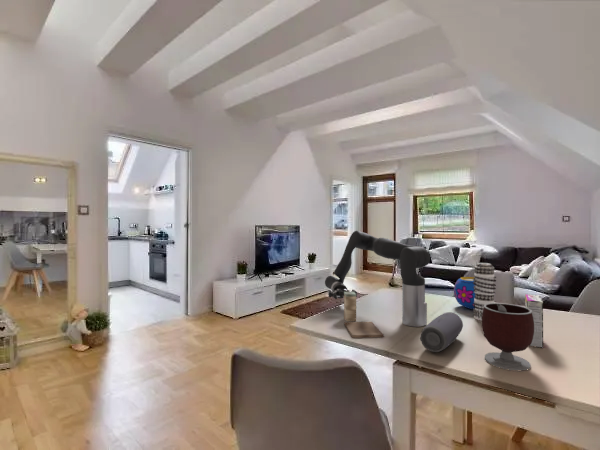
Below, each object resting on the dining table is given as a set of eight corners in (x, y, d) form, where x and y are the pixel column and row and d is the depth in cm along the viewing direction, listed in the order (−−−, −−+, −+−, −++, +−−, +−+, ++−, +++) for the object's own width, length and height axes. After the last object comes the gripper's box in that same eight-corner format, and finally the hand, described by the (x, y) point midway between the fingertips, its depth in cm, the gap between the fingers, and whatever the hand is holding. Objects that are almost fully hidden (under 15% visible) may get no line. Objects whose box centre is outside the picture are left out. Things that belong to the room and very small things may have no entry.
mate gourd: (489, 349, 113) (490, 292, 113) (538, 362, 103) (539, 299, 102) (473, 363, 102) (473, 299, 102) (526, 379, 92) (526, 308, 92)
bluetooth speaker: (438, 334, 129) (438, 308, 129) (464, 339, 123) (464, 312, 123) (418, 352, 111) (418, 322, 111) (447, 359, 105) (447, 328, 105)
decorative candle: (499, 322, 143) (499, 265, 143) (476, 320, 145) (476, 264, 145) (491, 316, 152) (491, 262, 152) (470, 315, 154) (470, 262, 154)
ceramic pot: (492, 315, 154) (492, 283, 154) (451, 309, 163) (451, 279, 163) (493, 306, 169) (493, 277, 168) (455, 302, 178) (455, 274, 178)
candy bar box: (524, 336, 126) (524, 293, 126) (540, 338, 123) (540, 295, 123) (526, 345, 116) (526, 299, 116) (543, 348, 114) (544, 301, 113)
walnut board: (371, 323, 142) (371, 321, 141) (383, 337, 126) (383, 334, 126) (344, 324, 141) (344, 322, 141) (352, 337, 125) (352, 335, 125)
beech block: (353, 317, 151) (353, 291, 150) (356, 321, 146) (356, 294, 145) (344, 317, 150) (344, 291, 150) (346, 321, 145) (346, 294, 145)
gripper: (325, 282, 175) (330, 289, 159) (352, 282, 176) (359, 289, 160) (325, 296, 175) (330, 304, 159) (352, 296, 176) (359, 304, 160)
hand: (344, 296), depth 159 cm, fingers open, 8 cm apart
